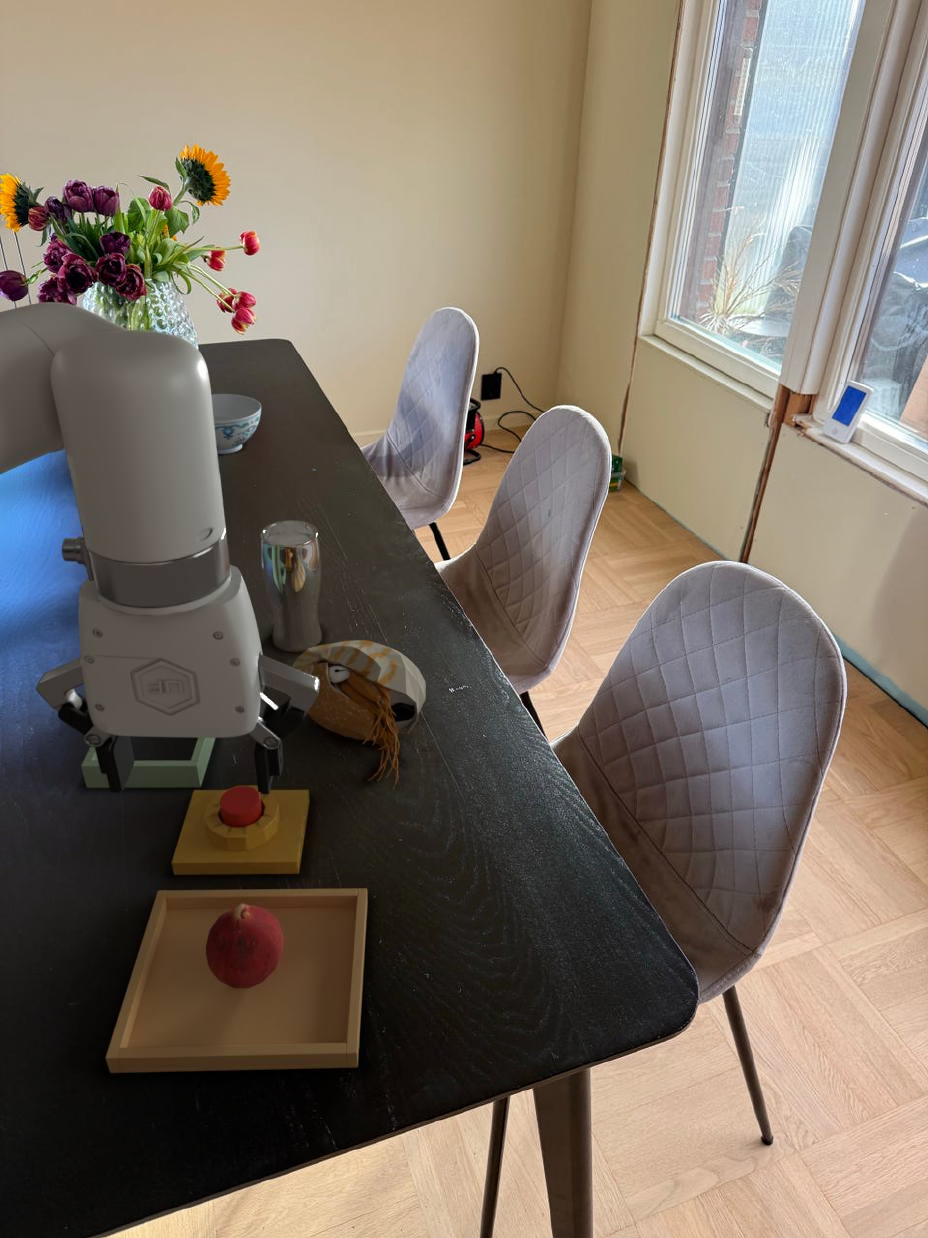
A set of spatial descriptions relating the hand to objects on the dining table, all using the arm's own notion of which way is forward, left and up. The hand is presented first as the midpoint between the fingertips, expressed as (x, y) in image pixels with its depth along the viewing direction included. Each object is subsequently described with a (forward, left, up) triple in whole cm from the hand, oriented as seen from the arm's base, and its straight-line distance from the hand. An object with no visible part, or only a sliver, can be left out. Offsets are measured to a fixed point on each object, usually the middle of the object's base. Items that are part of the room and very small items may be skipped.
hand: (195, 779), depth 58 cm
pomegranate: (+2, -2, -20) cm, 20 cm away
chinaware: (-21, +109, -20) cm, 113 cm away
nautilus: (+9, +28, -20) cm, 36 cm away
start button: (-1, +13, -17) cm, 21 cm away
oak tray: (+2, -2, -20) cm, 20 cm away
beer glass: (0, +46, -20) cm, 50 cm away
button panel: (-1, +13, -20) cm, 24 cm away
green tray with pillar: (-12, +29, -20) cm, 37 cm away
